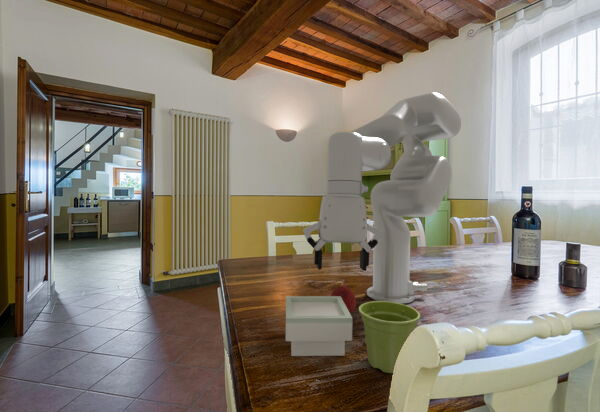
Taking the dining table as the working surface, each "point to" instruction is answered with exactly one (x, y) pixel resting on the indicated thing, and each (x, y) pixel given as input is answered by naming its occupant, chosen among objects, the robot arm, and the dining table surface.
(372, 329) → the plant pot
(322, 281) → the dining table surface
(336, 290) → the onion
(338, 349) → the pedestal
